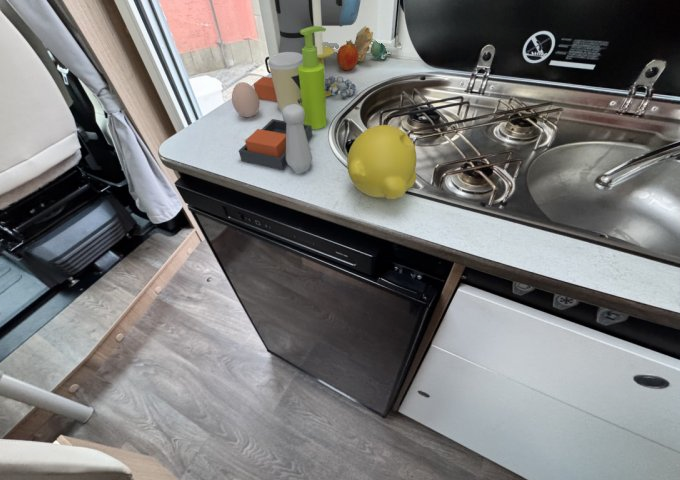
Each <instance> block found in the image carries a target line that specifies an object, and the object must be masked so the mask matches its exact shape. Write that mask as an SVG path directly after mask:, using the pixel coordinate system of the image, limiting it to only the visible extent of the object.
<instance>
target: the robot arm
mask: <svg viewBox="0 0 680 480" xmlns="http://www.w3.org/2000/svg"><path fill="white" fill-rule="evenodd" d="M361 2H362V1H361V0H321V21H322V27H344V26H352V25H354V24H355V23H356V22H357V19H358V15H359V11H360V6H361ZM274 5H275V12H276V17H277V22H278V30H279V31H278V32H279V46H278V47H279V48H278V53H283V52H296V53H300V54H302V48H303V47H304V46H305V36H304V35H302V34H301V33H300V30H303V29H305V28H308V27H312V26H314V22H313V7H312V0H274ZM312 37H313V45H314V46H315V37H314V33H312Z"/></svg>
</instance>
